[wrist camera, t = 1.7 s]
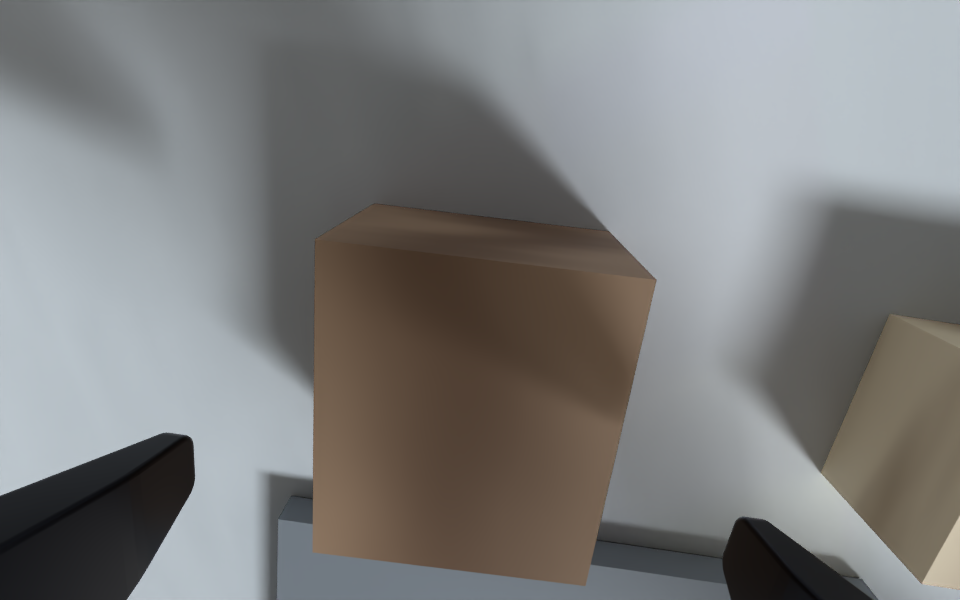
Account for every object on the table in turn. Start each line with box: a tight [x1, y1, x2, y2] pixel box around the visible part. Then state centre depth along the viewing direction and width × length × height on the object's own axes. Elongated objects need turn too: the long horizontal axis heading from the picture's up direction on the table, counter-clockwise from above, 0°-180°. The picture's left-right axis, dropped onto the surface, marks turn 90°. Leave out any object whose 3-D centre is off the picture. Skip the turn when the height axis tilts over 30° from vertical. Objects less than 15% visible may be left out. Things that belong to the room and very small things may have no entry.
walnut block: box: [313, 204, 656, 586], centre depth 12 cm, size 6×7×4 cm
